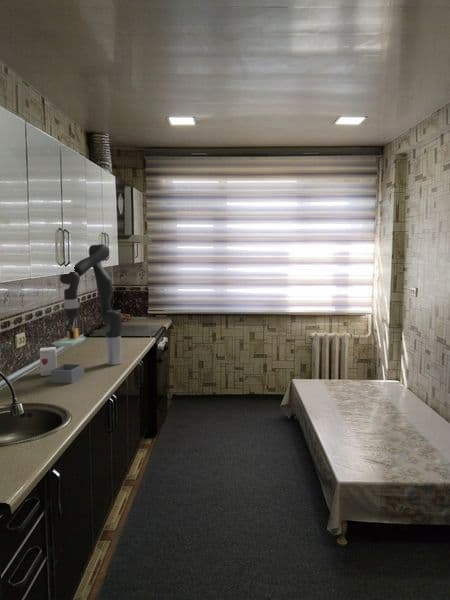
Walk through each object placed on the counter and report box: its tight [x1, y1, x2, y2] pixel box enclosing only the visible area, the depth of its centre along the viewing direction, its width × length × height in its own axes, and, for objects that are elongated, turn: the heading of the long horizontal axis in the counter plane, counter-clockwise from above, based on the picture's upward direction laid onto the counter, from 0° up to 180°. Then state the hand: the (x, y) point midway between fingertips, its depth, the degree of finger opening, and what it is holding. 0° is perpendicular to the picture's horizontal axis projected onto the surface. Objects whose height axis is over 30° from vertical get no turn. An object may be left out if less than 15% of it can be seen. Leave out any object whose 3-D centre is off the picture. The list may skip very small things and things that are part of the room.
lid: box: [51, 328, 86, 348], centre depth 286 cm, size 15×12×8 cm
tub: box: [50, 363, 85, 384], centre depth 288 cm, size 15×12×7 cm
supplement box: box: [39, 346, 58, 377], centre depth 303 cm, size 9×9×15 cm
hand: (73, 337), depth 291 cm, fingers closed on lid, 3 cm apart
